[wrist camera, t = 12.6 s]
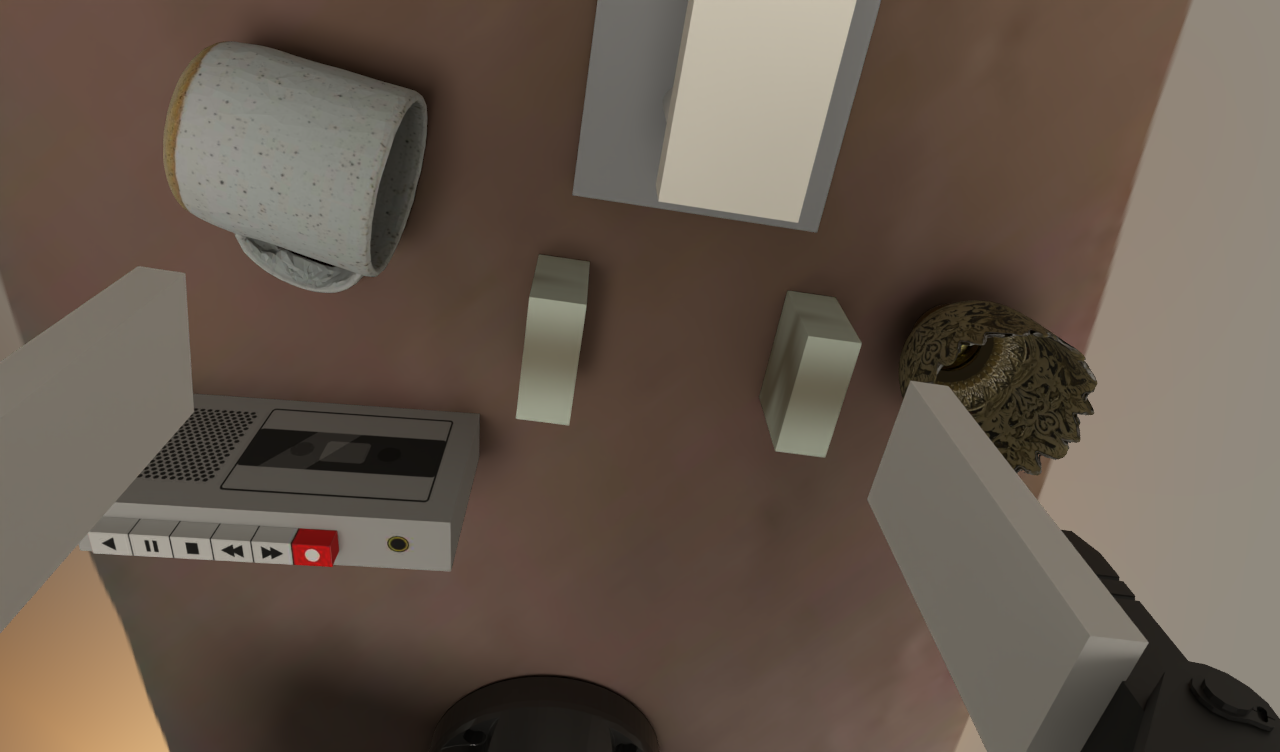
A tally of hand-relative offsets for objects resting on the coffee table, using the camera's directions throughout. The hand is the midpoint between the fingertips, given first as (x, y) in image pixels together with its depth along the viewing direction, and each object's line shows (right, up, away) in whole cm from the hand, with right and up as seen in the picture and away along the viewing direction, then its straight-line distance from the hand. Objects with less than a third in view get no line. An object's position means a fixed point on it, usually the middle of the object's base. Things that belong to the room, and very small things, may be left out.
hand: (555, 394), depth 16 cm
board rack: (+3, +3, +26) cm, 26 cm away
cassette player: (-15, -2, +28) cm, 32 cm away
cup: (+17, +3, +27) cm, 32 cm away
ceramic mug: (-12, +10, +22) cm, 27 cm away
